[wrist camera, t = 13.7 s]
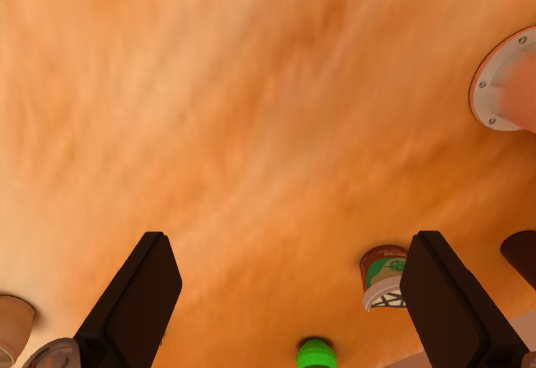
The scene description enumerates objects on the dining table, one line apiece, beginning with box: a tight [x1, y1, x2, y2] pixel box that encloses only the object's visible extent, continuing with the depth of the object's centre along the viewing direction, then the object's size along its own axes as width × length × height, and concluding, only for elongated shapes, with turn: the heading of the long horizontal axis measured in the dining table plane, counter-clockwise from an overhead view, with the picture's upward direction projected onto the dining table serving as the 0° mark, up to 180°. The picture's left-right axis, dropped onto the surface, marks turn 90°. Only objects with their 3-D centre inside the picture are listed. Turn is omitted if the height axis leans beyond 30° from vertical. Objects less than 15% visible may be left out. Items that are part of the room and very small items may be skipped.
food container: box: [360, 245, 408, 313], centre depth 46 cm, size 12×6×10 cm, turn 99°
